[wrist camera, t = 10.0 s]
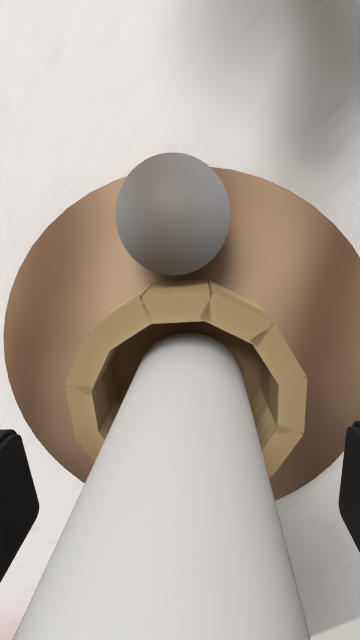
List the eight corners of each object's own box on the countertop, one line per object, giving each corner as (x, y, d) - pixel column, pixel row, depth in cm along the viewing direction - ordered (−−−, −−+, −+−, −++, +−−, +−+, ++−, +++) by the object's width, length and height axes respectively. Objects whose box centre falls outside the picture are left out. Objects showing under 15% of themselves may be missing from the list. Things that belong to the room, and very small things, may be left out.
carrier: (392, 153, 12) (494, 111, 8) (350, 497, 17) (398, 579, 13) (-22, 190, 13) (-118, 171, 9) (54, 498, 18) (14, 573, 14)
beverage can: (258, 349, 13) (621, 1180, 2) (217, 430, 15) (265, 1148, 3) (158, 312, 13) (-175, 962, 2) (128, 398, 14) (-152, 1038, 3)
